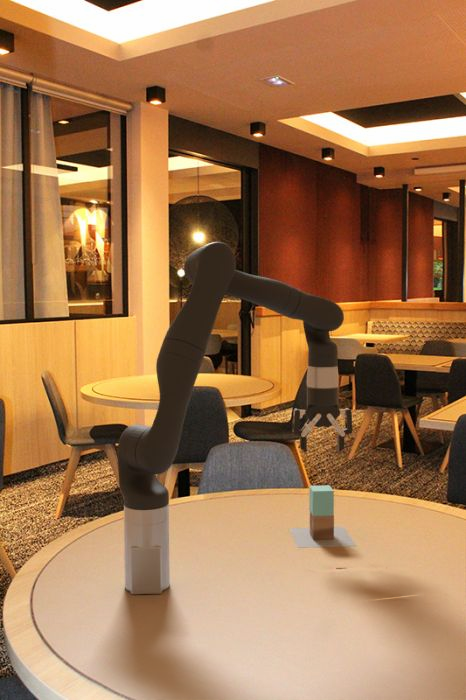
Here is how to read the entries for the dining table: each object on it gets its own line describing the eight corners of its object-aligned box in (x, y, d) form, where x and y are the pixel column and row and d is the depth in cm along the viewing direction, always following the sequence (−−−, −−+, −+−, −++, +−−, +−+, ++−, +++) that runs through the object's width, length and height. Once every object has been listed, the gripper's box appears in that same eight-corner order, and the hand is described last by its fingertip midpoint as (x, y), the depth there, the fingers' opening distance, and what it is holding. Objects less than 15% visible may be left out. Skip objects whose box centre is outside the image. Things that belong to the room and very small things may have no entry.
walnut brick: (333, 539, 171) (334, 515, 171) (313, 540, 171) (313, 515, 170) (329, 532, 176) (329, 509, 176) (309, 533, 176) (309, 509, 175)
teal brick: (333, 515, 171) (333, 490, 170) (313, 515, 170) (313, 491, 170) (329, 509, 176) (329, 485, 175) (309, 509, 175) (309, 485, 175)
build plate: (356, 549, 167) (356, 545, 167) (297, 550, 166) (297, 547, 166) (343, 529, 181) (343, 526, 181) (288, 531, 180) (288, 528, 180)
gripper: (295, 387, 166) (295, 455, 168) (355, 386, 167) (354, 454, 169) (290, 383, 174) (290, 448, 175) (348, 382, 175) (347, 447, 176)
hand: (322, 451), depth 172 cm, fingers open, 8 cm apart
